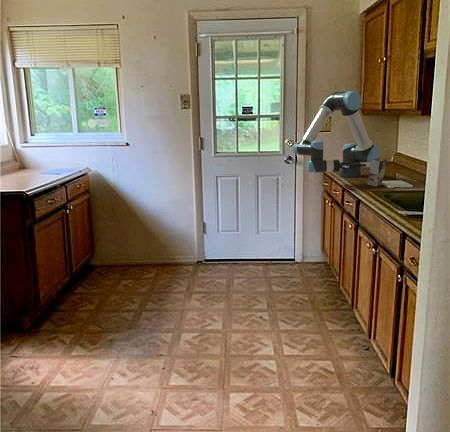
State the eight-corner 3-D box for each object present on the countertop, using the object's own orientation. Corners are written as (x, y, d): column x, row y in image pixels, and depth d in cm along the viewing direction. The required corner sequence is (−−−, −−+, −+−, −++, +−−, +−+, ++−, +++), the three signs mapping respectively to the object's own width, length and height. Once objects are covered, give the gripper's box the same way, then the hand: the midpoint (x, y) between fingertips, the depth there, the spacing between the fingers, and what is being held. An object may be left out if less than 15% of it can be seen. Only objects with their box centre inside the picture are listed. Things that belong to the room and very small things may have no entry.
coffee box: (376, 186, 280) (381, 161, 275) (366, 184, 284) (371, 159, 279) (382, 184, 287) (387, 159, 282) (372, 182, 291) (377, 157, 286)
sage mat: (378, 182, 294) (378, 181, 294) (401, 182, 294) (401, 180, 294) (388, 187, 276) (388, 186, 275) (412, 187, 275) (412, 185, 275)
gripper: (330, 170, 290) (367, 169, 290) (334, 173, 278) (373, 172, 277) (330, 158, 288) (368, 157, 288) (334, 161, 276) (374, 160, 275)
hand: (370, 164), depth 282 cm, fingers closed
